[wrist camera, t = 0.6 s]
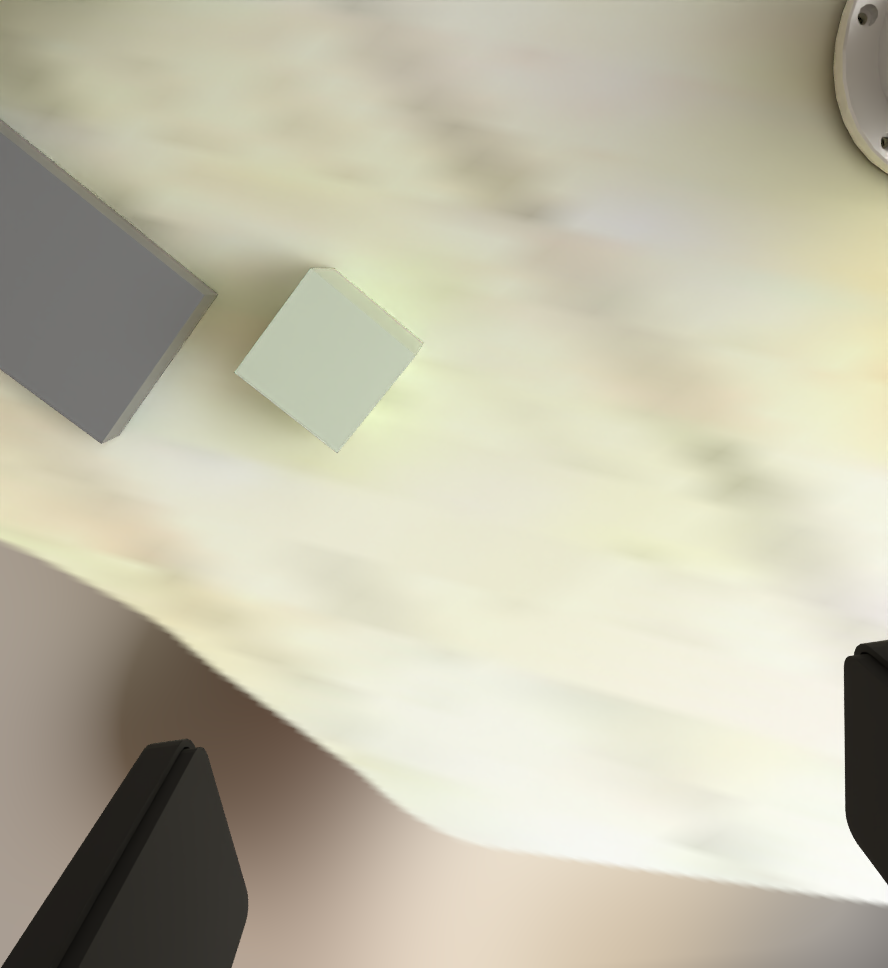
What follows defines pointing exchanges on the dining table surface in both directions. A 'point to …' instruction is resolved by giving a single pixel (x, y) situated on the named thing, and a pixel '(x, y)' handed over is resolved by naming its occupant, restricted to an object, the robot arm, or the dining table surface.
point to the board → (84, 295)
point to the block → (329, 356)
